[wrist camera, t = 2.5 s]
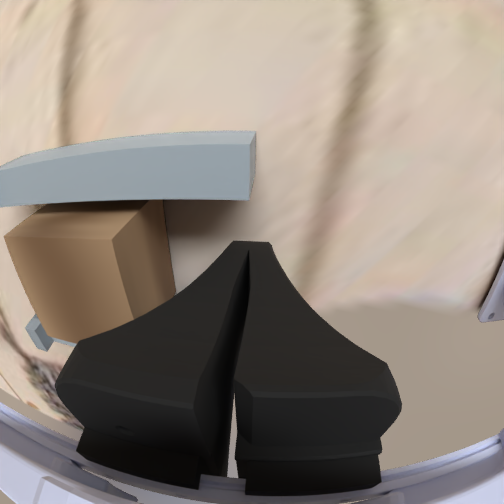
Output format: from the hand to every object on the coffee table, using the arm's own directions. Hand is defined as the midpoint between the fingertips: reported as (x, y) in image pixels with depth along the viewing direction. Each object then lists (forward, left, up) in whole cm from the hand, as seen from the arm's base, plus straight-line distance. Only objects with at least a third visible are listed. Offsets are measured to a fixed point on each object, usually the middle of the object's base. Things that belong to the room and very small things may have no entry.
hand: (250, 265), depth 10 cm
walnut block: (+6, 0, -1) cm, 6 cm away
